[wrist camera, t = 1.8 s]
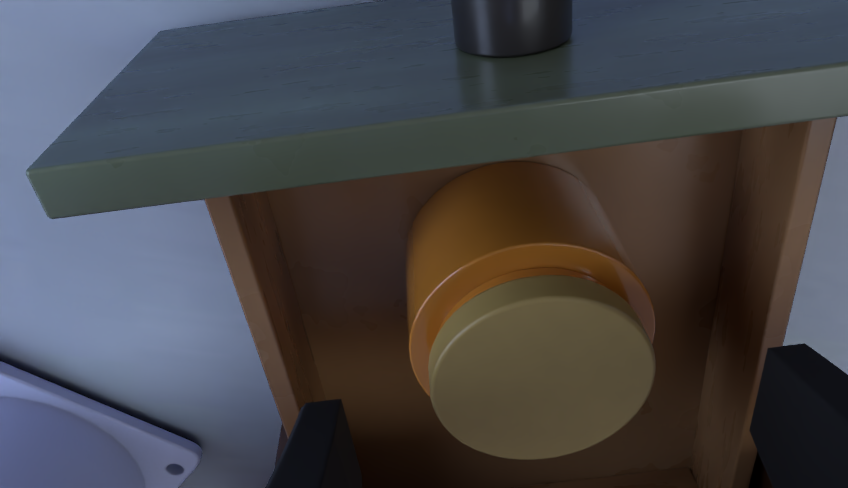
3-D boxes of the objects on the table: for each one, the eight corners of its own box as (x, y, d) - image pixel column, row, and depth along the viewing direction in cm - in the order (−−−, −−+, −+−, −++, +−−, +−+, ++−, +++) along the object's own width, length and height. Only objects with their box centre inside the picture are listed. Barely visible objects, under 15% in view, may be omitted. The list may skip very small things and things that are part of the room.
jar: (513, 358, 18) (546, 502, 14) (363, 271, 16) (357, 410, 12) (653, 234, 16) (732, 365, 12) (499, 118, 14) (538, 230, 10)
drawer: (137, -33, 13) (-25, 79, 8) (833, -130, 12) (1140, -78, 7) (314, 492, 22) (293, 703, 17) (722, 444, 21) (827, 645, 16)
